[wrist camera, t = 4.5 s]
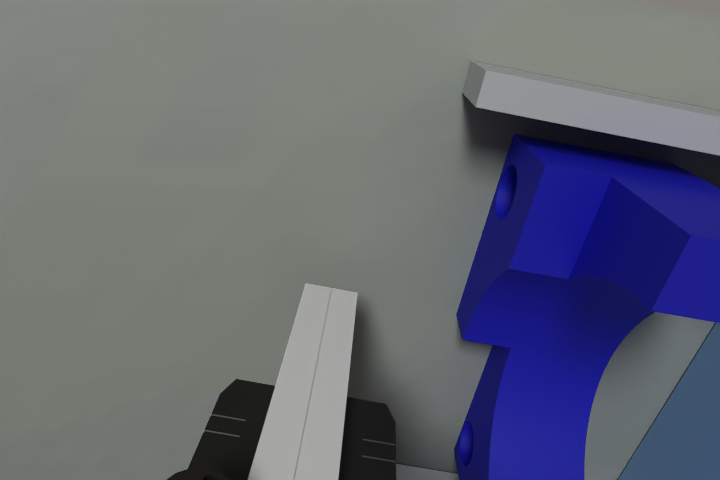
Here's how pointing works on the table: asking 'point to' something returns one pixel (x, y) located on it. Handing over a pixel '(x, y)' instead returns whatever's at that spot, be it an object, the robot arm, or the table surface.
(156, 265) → the table surface
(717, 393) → the blue wall bracket
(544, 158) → the blue arched bracket piece
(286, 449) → the robot arm
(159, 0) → the table surface
